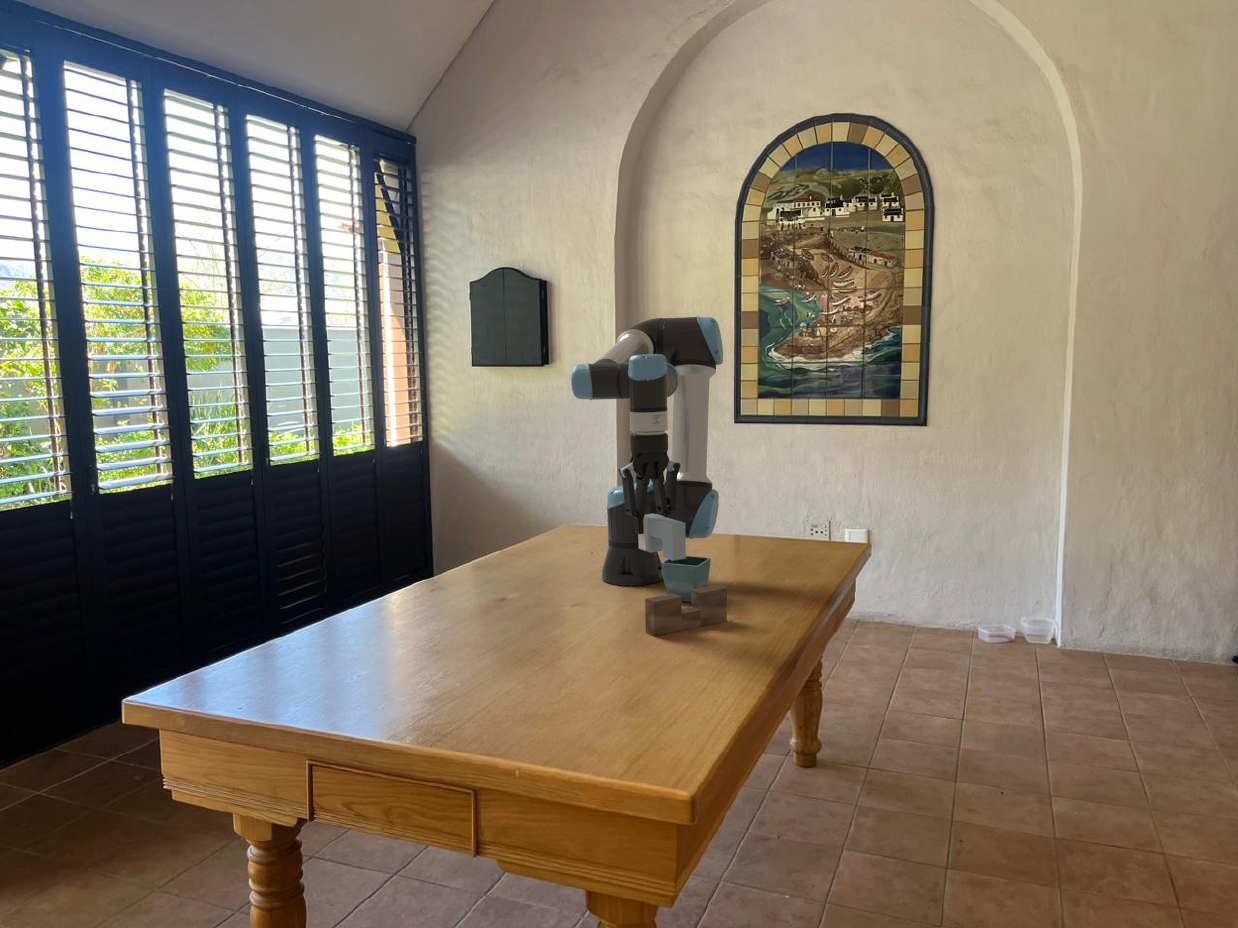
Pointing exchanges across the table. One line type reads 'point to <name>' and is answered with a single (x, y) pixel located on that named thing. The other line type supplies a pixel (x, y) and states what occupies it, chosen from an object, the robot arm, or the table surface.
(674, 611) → the walnut notched block
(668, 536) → the light blue notched brick
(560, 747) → the table surface
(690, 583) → the flower pot
